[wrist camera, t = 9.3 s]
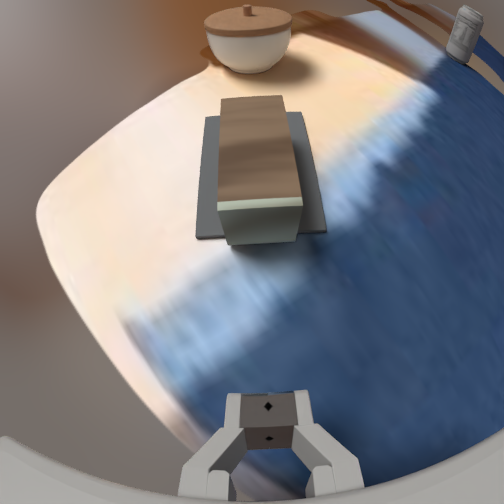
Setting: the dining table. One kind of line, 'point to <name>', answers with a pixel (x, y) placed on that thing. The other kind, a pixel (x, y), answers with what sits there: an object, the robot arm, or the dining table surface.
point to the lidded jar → (249, 37)
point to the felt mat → (208, 181)
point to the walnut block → (257, 172)
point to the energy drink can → (464, 34)
